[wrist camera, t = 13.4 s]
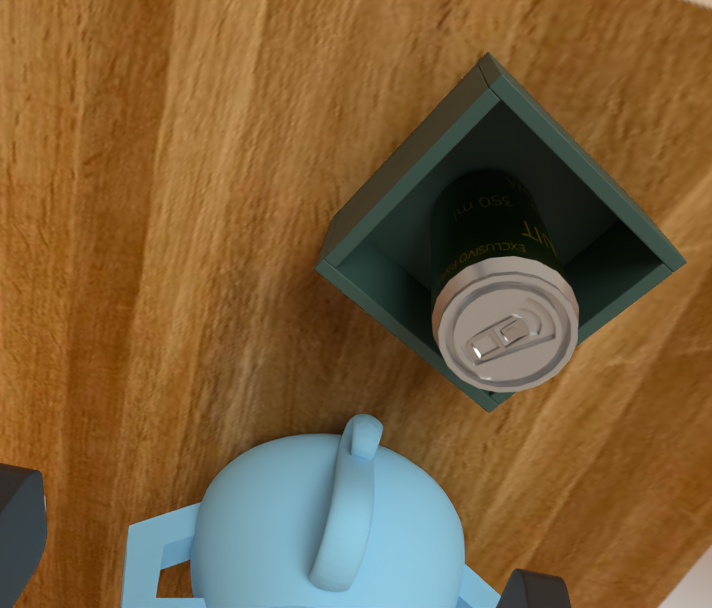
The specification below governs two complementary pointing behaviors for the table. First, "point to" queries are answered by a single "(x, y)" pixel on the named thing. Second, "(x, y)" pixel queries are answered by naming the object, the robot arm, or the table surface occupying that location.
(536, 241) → the beer can
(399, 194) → the open box
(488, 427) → the table surface
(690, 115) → the table surface
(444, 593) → the teapot
